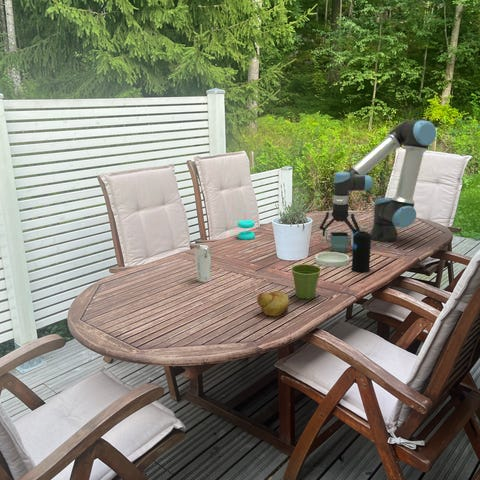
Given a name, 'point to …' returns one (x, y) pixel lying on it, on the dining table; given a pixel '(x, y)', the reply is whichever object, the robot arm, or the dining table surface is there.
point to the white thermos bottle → (203, 262)
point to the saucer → (332, 259)
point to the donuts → (246, 224)
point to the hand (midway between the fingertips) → (338, 243)
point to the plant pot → (305, 280)
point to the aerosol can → (361, 251)
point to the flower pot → (339, 241)
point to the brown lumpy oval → (273, 303)
